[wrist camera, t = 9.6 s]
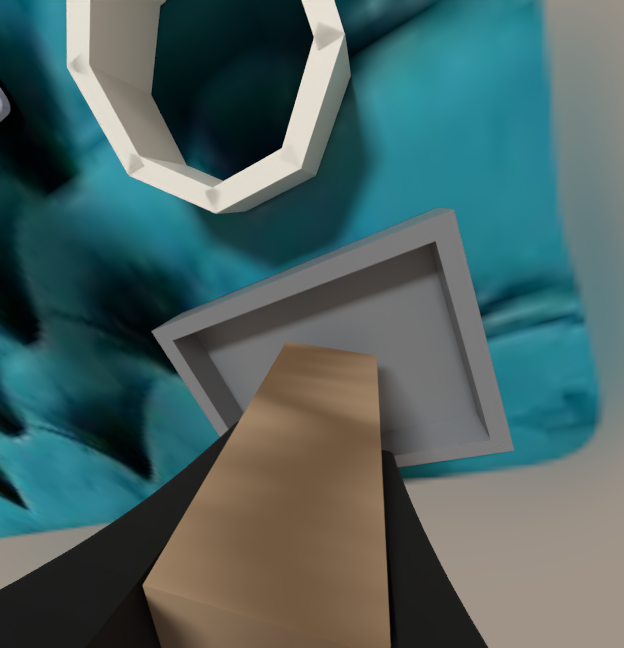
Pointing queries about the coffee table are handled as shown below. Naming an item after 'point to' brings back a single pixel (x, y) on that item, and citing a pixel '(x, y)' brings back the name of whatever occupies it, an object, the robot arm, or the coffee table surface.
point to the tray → (361, 338)
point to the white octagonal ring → (149, 126)
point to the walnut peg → (286, 520)
